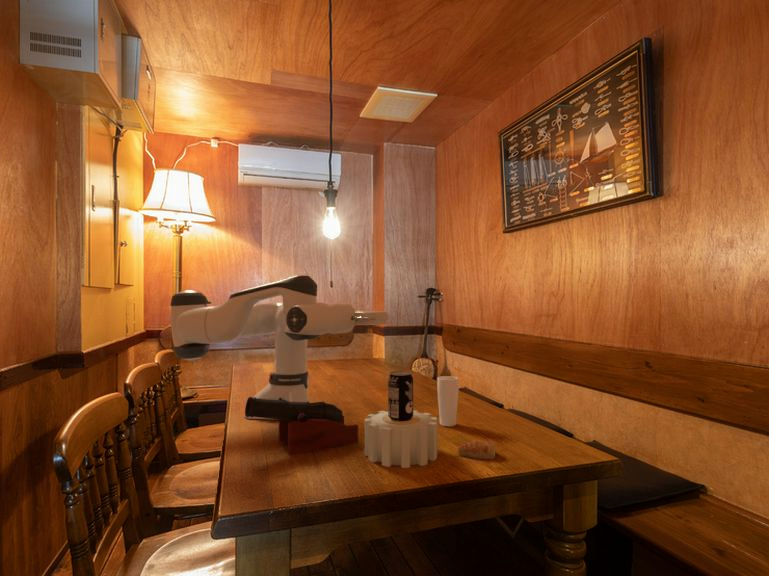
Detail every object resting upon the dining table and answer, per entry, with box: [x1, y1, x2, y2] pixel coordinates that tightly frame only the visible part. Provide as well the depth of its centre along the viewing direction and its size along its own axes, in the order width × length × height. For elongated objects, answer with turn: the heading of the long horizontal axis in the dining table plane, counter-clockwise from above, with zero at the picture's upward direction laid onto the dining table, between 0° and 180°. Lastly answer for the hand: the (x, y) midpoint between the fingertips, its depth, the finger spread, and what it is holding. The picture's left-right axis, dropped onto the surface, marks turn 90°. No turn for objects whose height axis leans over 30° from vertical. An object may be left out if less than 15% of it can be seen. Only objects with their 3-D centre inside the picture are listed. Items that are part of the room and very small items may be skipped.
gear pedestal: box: [364, 409, 439, 469], centre depth 115 cm, size 19×19×9 cm
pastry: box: [457, 439, 496, 460], centre depth 114 cm, size 9×7×4 cm
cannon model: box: [244, 396, 359, 456], centre depth 120 cm, size 13×30×15 cm, turn 118°
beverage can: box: [387, 370, 414, 421], centre depth 115 cm, size 7×7×12 cm
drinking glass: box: [436, 375, 460, 428], centre depth 140 cm, size 7×7×15 cm
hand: (376, 316), depth 135 cm, fingers open, 8 cm apart
